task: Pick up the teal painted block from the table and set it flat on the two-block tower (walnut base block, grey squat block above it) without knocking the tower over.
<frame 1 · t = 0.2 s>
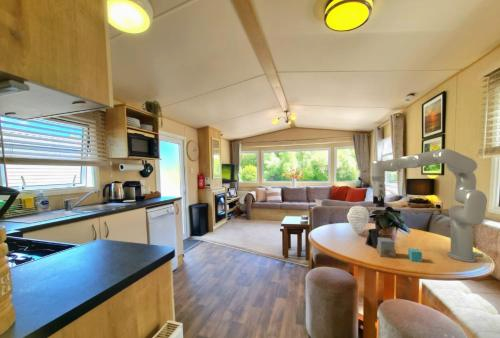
hand: (378, 205, 140), 31 cm above the table, tool pointing down, fingers open, 9 cm apart
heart: (358, 234, 175), on the table
grey squat block: (385, 247, 134), point 5 cm above the table, touching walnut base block
teal block: (414, 260, 126), on the table
door stopper: (373, 246, 149), on the table
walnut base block: (385, 255, 134), on the table, touching grey squat block
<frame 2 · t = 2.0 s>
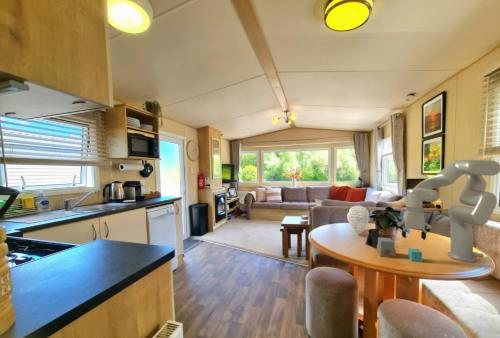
hand: (413, 238, 126), 13 cm above the table, tool pointing down, fingers open, 9 cm apart
nothing on the table moved.
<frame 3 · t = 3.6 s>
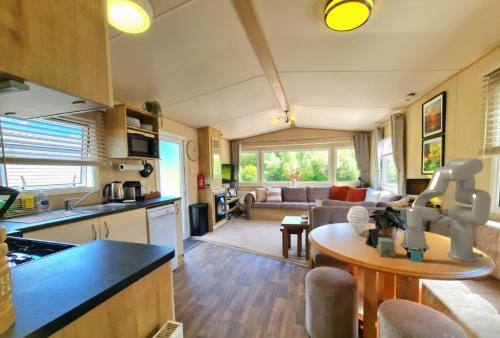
hand: (414, 258, 126), 1 cm above the table, tool pointing down, fingers closed on teal block, 5 cm apart
teal block: (414, 260, 126), on the table, touching gripper
everything else where it was.
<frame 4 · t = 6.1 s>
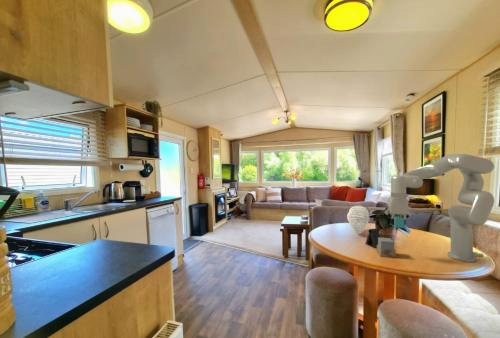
hand: (397, 224, 130), 20 cm above the table, tool pointing down, fingers closed on teal block, 4 cm apart
teal block: (397, 226, 130), point 19 cm above the table, touching gripper
everything else where it was.
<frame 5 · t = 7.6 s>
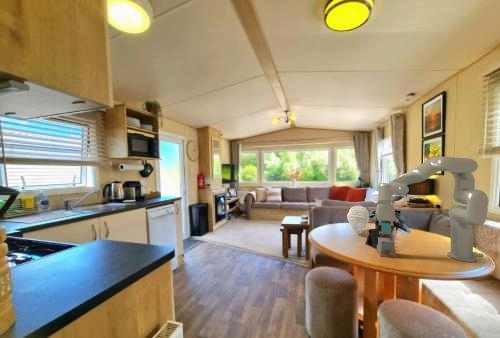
hand: (385, 230, 134), 15 cm above the table, tool pointing down, fingers closed on teal block, 4 cm apart
teal block: (385, 232, 134), point 14 cm above the table, touching gripper
everything else where it was.
when the fingers open (11 cm above the table, at t = 8.9 s): teal block stays where it is, resting on grey squat block.
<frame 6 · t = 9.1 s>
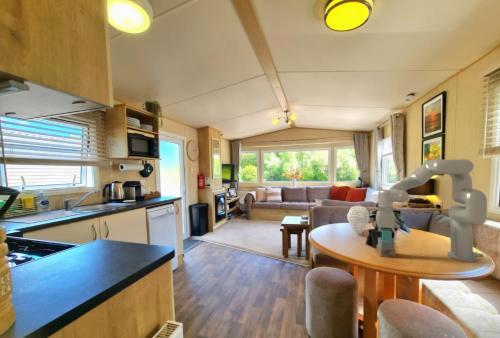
hand: (385, 237, 134), 11 cm above the table, tool pointing down, fingers open, 6 cm apart
grey squat block: (385, 247, 134), point 5 cm above the table, touching teal block, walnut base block
teal block: (385, 239, 134), point 10 cm above the table, touching grey squat block
everything else where it was.
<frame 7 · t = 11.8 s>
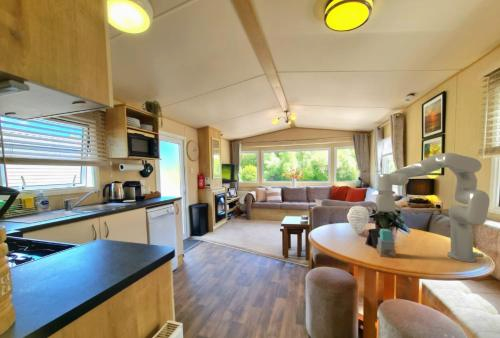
hand: (385, 220, 134), 22 cm above the table, tool pointing down, fingers open, 9 cm apart
nothing on the table moved.
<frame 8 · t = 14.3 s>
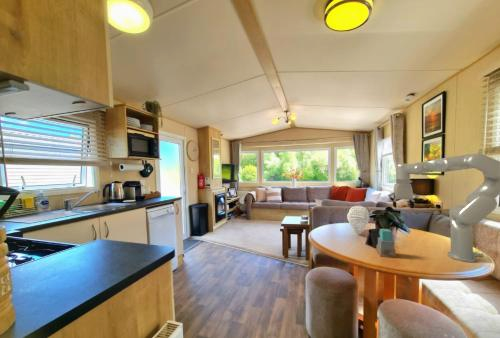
hand: (403, 207, 141), 28 cm above the table, tool pointing down, fingers open, 9 cm apart
nothing on the table moved.
at the end: teal block 0.2 cm off-centre on the grey squat block, point 5.0 cm above the grey squat block's base; grey squat block 0.0 cm from the target spot, point 4.8 cm above the table; teal block tilted 0° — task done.
